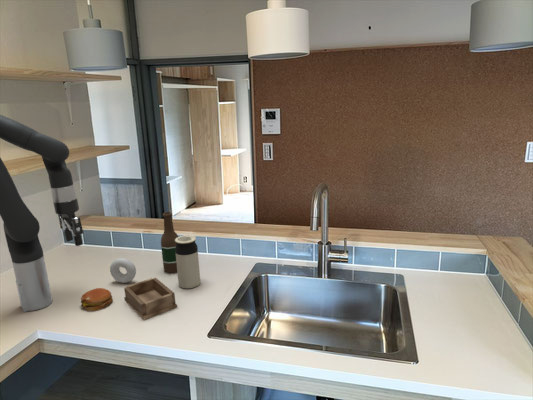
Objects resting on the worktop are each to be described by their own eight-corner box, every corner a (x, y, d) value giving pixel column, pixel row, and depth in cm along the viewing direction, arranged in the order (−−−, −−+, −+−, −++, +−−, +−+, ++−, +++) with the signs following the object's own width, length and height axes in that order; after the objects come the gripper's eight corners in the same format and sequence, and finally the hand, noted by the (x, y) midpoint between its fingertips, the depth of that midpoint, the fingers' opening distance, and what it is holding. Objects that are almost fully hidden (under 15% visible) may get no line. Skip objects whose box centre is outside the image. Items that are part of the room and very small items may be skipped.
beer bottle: (185, 265, 168) (180, 209, 161) (179, 274, 160) (173, 215, 154) (166, 265, 169) (161, 210, 162) (160, 273, 161) (153, 215, 155)
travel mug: (185, 291, 146) (180, 244, 142) (174, 283, 152) (170, 238, 147) (204, 284, 151) (200, 238, 146) (193, 277, 157) (189, 233, 152)
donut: (110, 284, 154) (106, 259, 151) (114, 280, 157) (111, 256, 154) (135, 285, 152) (131, 260, 150) (139, 280, 156) (136, 256, 153)
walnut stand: (143, 320, 129) (142, 305, 127) (124, 299, 142) (122, 286, 140) (177, 307, 135) (176, 293, 134) (156, 289, 149) (154, 276, 147)
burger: (116, 297, 144) (114, 285, 143) (106, 311, 135) (104, 298, 134) (88, 298, 144) (86, 286, 143) (76, 312, 135) (74, 299, 134)
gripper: (46, 198, 143) (56, 242, 147) (61, 204, 133) (71, 250, 137) (68, 194, 148) (77, 236, 152) (84, 198, 138) (93, 243, 142)
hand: (74, 242), depth 145 cm, fingers open, 8 cm apart
